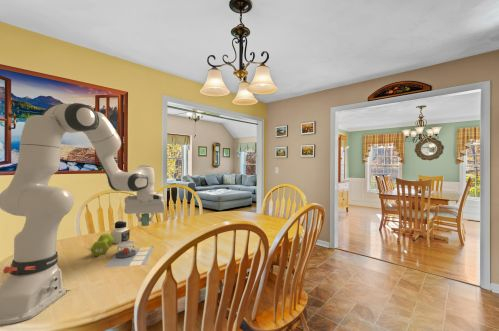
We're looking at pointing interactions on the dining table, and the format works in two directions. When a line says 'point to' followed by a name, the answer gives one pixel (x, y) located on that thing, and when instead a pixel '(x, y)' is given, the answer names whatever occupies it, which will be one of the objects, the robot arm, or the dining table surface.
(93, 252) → the dumbbell
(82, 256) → the dining table surface
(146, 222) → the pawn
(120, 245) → the dome
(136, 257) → the game board
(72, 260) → the dining table surface
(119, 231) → the medicine bottle
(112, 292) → the dining table surface
